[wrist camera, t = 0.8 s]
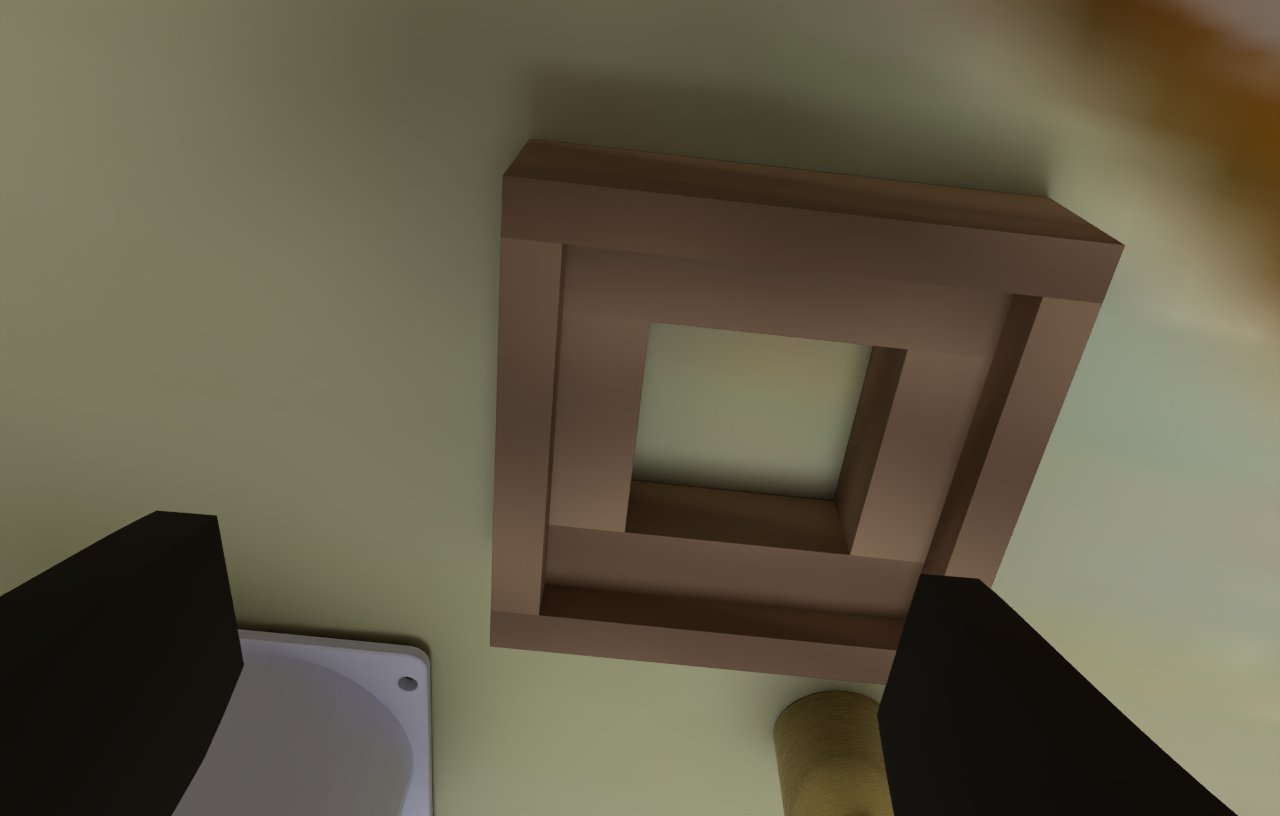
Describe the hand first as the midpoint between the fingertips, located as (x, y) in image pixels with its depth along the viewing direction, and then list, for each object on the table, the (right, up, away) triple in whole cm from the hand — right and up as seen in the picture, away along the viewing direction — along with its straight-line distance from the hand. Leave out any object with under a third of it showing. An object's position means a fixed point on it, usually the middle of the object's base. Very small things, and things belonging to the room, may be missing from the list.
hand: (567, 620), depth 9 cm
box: (+3, +2, +10) cm, 10 cm away
